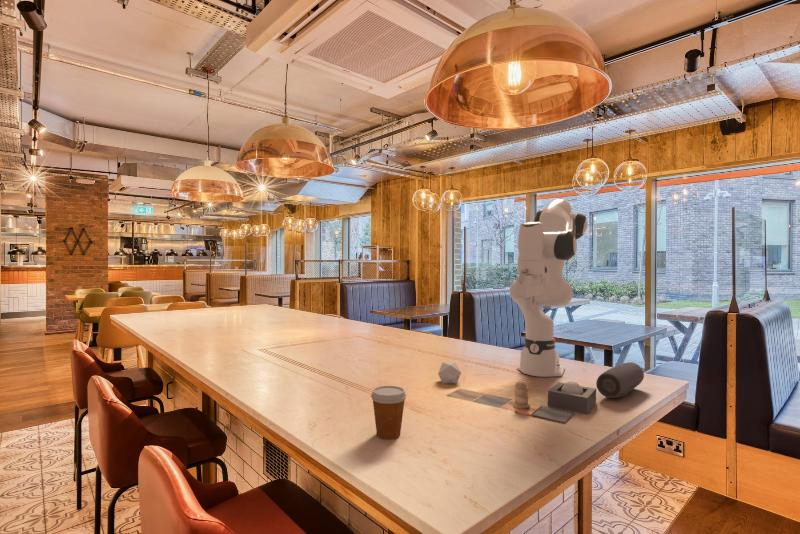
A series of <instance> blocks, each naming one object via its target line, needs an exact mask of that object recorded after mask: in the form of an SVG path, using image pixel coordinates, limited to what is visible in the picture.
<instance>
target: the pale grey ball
mask: <svg viewBox="0 0 800 534" xmlns="http://www.w3.org/2000/svg"><path fill="white" fill-rule="evenodd" d="M564 383H565V384H564V385H563V386H562V389H561V391H562V392H568V393H573V394H579V395H583V394H584V393H583V389H582V387H581V386H582V385H580V384H579V383H578V382H575V381H567V382H564Z"/></svg>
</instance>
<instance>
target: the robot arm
mask: <svg viewBox="0 0 800 534" xmlns="http://www.w3.org/2000/svg"><path fill="white" fill-rule="evenodd" d="M587 229H588V221H587V216H586V214H585V215H584V214H582V213H579V212H573V211H572V206H571V204H570V202H568V201H567V200H566V199H563V198H557V199H554V200H552V201H551V202H549V203H548V204H547V205H546V206H545V207H544V208H541V209H539V210H537V211H536V213H535V215H534V217H533V221H527V222H523V223H521V224H520V225H519V229H518V234H517V235H518V237H517V250H518V256H517V276H516V279H515V280H513V281H512V283H511V284H510V287H509V295H510V296H509V297H510V298H511V299H512V301H513V302H514V303H516V304H517V306H518V307H519V308H520V311H521V312H522V315H523V317H524V324H525V337H524V340H523V343H524V344H523V345H524V348H523V349H521V351H520V361H519V365H518V366H516V370H518V371H520V372H521V373H523V374H526V375H529V376H533V377H542V378H543V377H544V378H546V377H547V378H549V377H550V378H551V377H563V375H564V372H565V369H566V366H565V365H562V364H560V355H559V353H558V352H557V350H556V338H555V337H554V321H553V319H552V318H551V317H550V316H549V315H547V314H546V313H545V312H544V311H543V310H542V308H541V306H544V307H553V308H554V307H565V306H568V304H569V303H571V301H572V299H573V295H574V294H573V293H574V292H573V288H572V286H571V285H570V283H569V282H568V281H567V280H565V278H564V277H563V268H564V265H565V262H566V261H569V260H570V259H572V258H573V257H574V256H575V255H576V252H577V249H578V248H577V247H578V245H577V240H579V239H580V238H582V236H583V237H584V234H585V232H586V231H587Z"/></svg>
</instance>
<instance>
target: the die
mask: <svg viewBox="0 0 800 534" xmlns="http://www.w3.org/2000/svg"><path fill="white" fill-rule="evenodd" d="M461 374H462V371H461V369H460V367H459V366H458V364H457V362H454V361H453V362H452V361H449V362H448V361H444V362H441V365H440V367H439V369H438V373H437V375H438V377H439V379H440V381H441V383H442V384H450V385H451V384H458V382H459V379H460V377H461Z"/></svg>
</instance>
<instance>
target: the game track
mask: <svg viewBox="0 0 800 534" xmlns="http://www.w3.org/2000/svg"><path fill="white" fill-rule="evenodd" d="M445 396H447V397H451V398H454V399H460V400H462V401H463V400H464V401H468V402H473V403H478V404H483V405H485V406H486V405H487V406H491V407H496V408H498V409H499V408H500V409H504V410H509V411H514V413H516V414H519V415H525V416H529V417H534V418H539V419H543V420H547V421H552V422H557V423H560V424H565V425H566V423H567V422H568V421H569V420H570V419H571V418H572V417H573V416H574V415H575V412H574V411H569V410H564V409H559V408H554V407H550V406H548V405H547V406H545V405H542V404H536V403H531V402H530V408H528V409H518V408H515V407H514V406H513V401H515V399H512V398H509V397H503V396H497V395H494V394H493V395H492V394H488V393H483V392H479V391H475V390H468V389H465V388H464V389H463V388H459V389H456V390H455V391H452V392H450V393H448V394H446V395H445Z"/></svg>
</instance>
